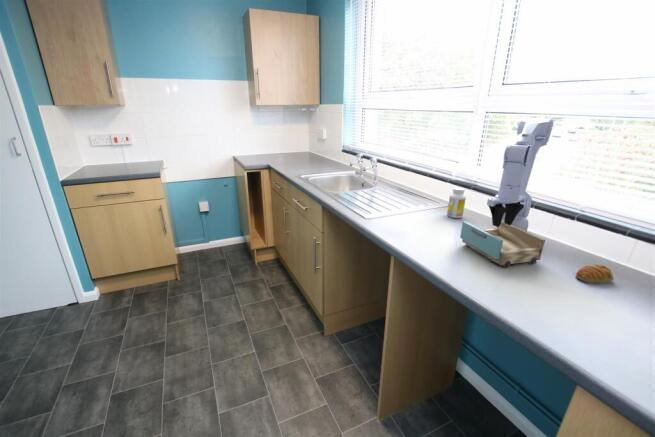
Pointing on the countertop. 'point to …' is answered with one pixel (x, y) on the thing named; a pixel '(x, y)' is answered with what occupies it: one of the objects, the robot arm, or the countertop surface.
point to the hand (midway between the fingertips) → (501, 225)
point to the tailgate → (481, 239)
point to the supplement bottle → (456, 203)
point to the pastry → (595, 274)
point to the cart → (514, 245)
